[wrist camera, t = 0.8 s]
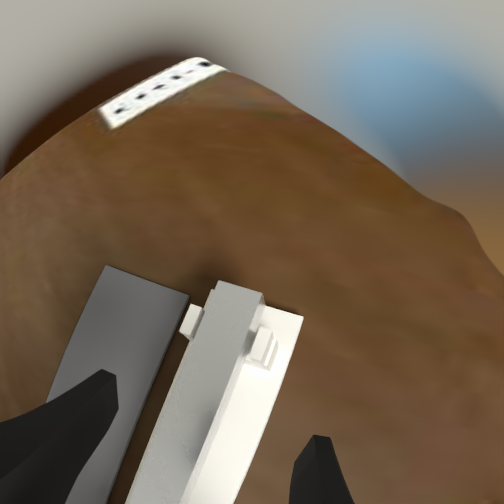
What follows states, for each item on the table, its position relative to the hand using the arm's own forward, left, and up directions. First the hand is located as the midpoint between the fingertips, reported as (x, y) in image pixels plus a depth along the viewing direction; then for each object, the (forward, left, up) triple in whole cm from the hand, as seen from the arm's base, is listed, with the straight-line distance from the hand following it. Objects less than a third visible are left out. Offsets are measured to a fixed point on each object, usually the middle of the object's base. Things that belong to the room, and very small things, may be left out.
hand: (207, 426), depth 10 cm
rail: (-5, +3, -10) cm, 12 cm away
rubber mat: (-5, +14, -14) cm, 21 cm away
